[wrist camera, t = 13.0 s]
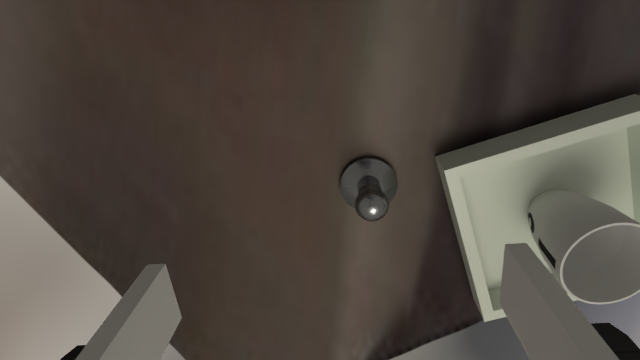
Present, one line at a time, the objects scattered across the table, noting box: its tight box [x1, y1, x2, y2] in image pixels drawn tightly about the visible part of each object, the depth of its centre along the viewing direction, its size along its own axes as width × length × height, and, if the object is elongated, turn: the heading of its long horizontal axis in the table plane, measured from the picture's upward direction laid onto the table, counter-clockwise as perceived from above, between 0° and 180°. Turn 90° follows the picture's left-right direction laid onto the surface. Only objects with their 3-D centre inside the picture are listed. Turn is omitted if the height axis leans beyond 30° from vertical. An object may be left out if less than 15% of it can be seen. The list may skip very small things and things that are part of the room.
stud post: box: [340, 157, 397, 221], centre depth 39 cm, size 6×6×7 cm
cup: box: [527, 189, 640, 304], centre depth 38 cm, size 8×8×10 cm
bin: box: [435, 94, 640, 322], centre depth 41 cm, size 19×19×4 cm
